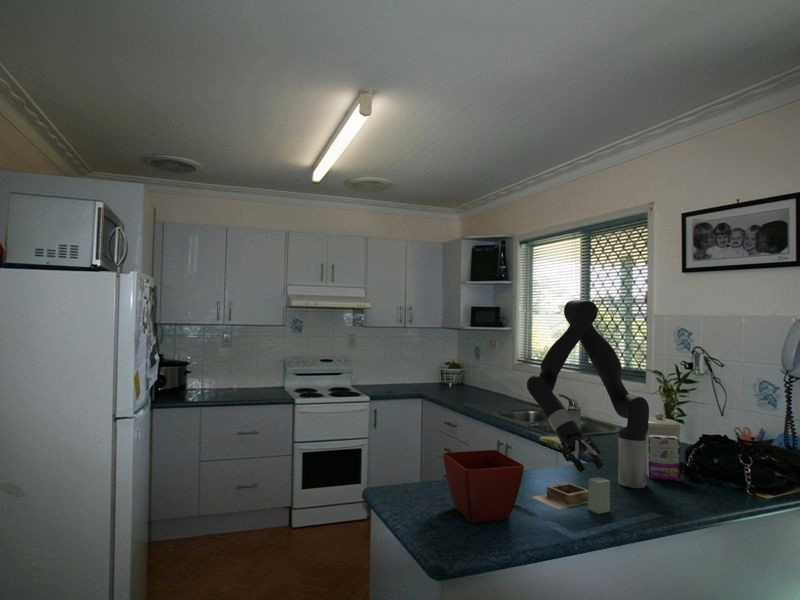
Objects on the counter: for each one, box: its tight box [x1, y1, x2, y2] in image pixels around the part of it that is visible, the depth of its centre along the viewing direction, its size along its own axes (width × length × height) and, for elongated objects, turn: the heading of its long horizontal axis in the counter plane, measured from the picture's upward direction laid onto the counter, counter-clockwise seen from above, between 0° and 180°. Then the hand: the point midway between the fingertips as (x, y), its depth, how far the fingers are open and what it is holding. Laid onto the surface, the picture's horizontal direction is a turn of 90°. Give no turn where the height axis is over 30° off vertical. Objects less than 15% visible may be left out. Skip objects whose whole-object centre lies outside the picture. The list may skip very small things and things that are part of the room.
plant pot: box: [442, 449, 525, 524], centre depth 155 cm, size 19×19×17 cm
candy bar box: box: [646, 434, 681, 482], centre depth 197 cm, size 11×5×16 cm, turn 76°
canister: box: [647, 412, 683, 439], centre depth 224 cm, size 18×18×21 cm
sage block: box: [587, 476, 611, 515], centre depth 157 cm, size 5×4×10 cm
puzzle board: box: [531, 482, 588, 510], centre depth 167 cm, size 22×12×4 cm, turn 120°
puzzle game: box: [538, 434, 561, 451], centre depth 241 cm, size 12×5×20 cm
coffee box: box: [567, 405, 582, 430], centre depth 262 cm, size 9×6×16 cm
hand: (592, 469), depth 159 cm, fingers open, 8 cm apart
